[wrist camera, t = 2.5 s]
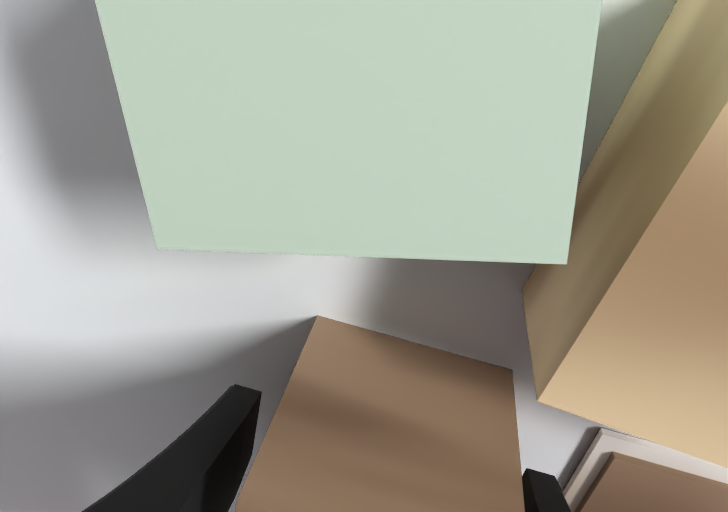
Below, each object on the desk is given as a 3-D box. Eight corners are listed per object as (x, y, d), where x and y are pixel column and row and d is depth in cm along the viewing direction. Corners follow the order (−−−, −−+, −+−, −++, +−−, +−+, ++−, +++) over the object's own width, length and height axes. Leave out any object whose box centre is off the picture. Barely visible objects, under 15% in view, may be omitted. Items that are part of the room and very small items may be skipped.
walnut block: (454, 495, 15) (446, 722, 10) (290, 448, 15) (214, 650, 11) (512, 368, 12) (531, 589, 8) (317, 314, 13) (237, 501, 8)
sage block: (527, 129, 10) (567, 263, 6) (284, 130, 11) (157, 249, 6) (554, -186, 8) (650, -358, 4) (251, -157, 9) (28, -266, 4)
